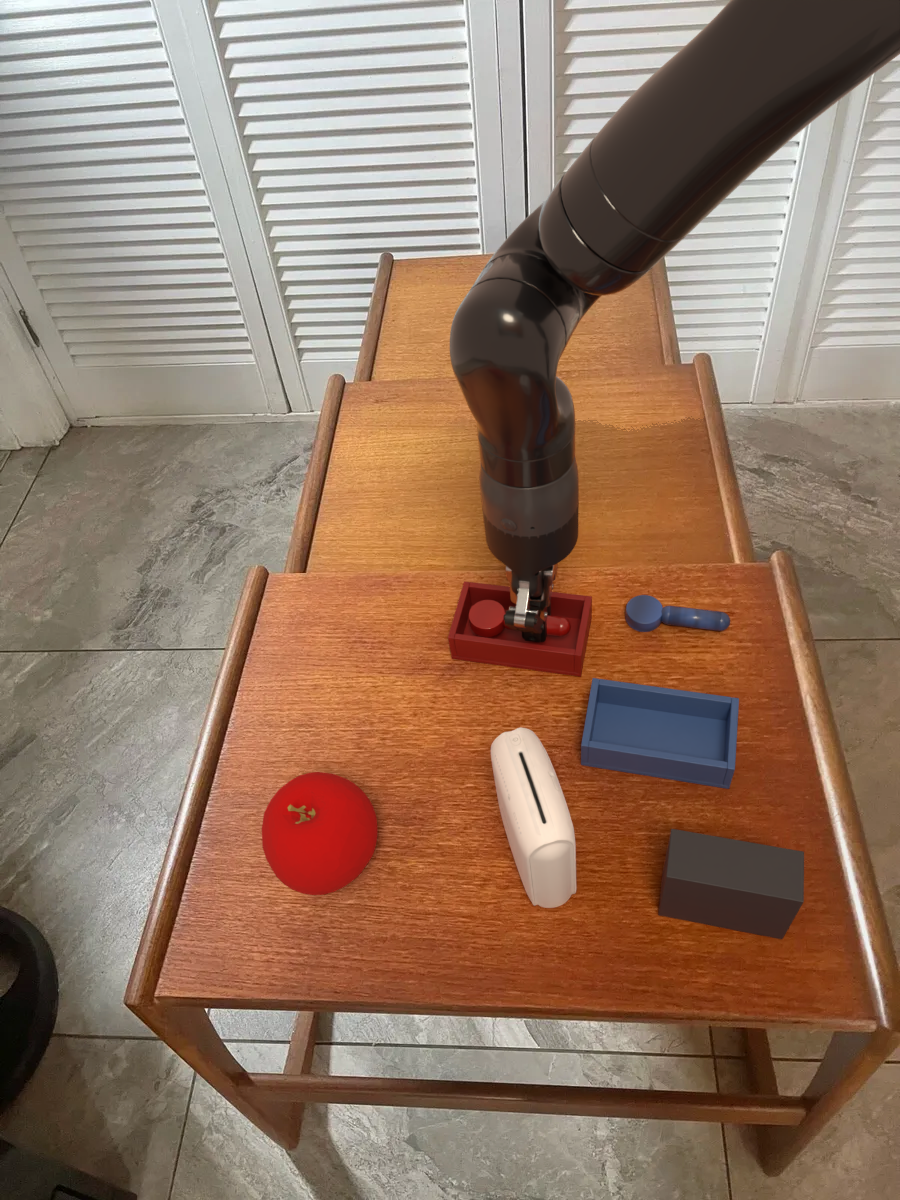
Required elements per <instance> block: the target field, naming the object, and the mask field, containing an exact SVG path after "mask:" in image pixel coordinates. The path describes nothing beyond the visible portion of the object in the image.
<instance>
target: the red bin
mask: <svg viewBox="0 0 900 1200" xmlns="http://www.w3.org/2000/svg"><path fill="white" fill-rule="evenodd" d="M482 600H493V601H496V602H498V603H500V604H501V605H502V606H503V608H504V610H505V613H506V611H507V610H509V607H510V606H511V607H516V604H515V603H513V602H512V601H511V597H510V586H507V585H498V584H491V583H483V582H482V583H481V582H474V581H466V580H465V581H463V584H462V586H461V591H460V594H459V597H458V601H457V604H456V608H455V612H454V615H453V618H452V622H451V626H450V629H449V632H448V636H447V640H448V646H449V650H450V655H451V659H452V660H457V661H463V662H464V661H465V662H470V663H471V662H472V663H477V664H478V663H479V664H485V665H492V666H493V665H494V666H501V667H508V668H513V669H514V668H516V669H523V670H529V671H537V672H542V673H543V672H544V673H551V674H552V673H553V674H559V675H564V676H572V677H579V678H580V677H582V672H583V669H584V668H583V667H584V663H585V657H586V651H587V646H588V642H589V641H588V640H589V635H590V629H591V624H592V617H593V616H592V614H593V613H592V611H593V596H591V595H583V594H576V593H575V594H574V593H568V592H567V593H566V592H557V591H552V597H551V616H559V617H564V618H566V619H568V620H569V622H570V624H571V629H570V632H569V633H568V634H567V635H565V636H553V635H547V636H546V641H544V642H541V643H539V642H532V641H525V639H523V638H522V631H515V630H508V629H506V628H504V629H503V631H502V632H501V633H499V634H498V635H496V636H493V637H481V636H479V635H477V634H475V633H474V632H473V631H472V629H471V627H470V622H469V611H470V609H471V607H472V606H473V605H474V604H476V603H477V602H479V601H482Z"/></svg>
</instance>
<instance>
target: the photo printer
mask: <svg viewBox="0 0 900 1200" xmlns="http://www.w3.org/2000/svg"><path fill="white" fill-rule="evenodd" d="M490 761H491V766H492V772H493V779H494V785H495V791H496V796H497V803H498V807H499V813H500V818H501V820H502V824H503V828H504V830H505V831H504V832H505V835H506V837H507V841H508V845H509V848H510V850H511V854H512V857H513V860H514V863H515V867H516V869H517V871H518V874H519V877H520V880H521V882H522V885H523V888H524V890H525V893H526V895H527V897H528V899H529V900H530V902H531V904H532V905H533V906H534V907H535V906H539V907H541V908H544V909H545V908H546V909H554V908H558V907H561V906H562V905H564V904H566V903H567V902H568V901H569V899H570V898H571V897H572V895H574V894H576V893H577V889H578V888H577V846H576V845H577V844H576V835H575V828H574V823H573V821H572V818H571V813H570V810H569V806H568V804H567V801H566V798H565V794H564V792H563V788H562V786H561V784H560V780H559V778H558V775H557V773H556V770H555V768H554V765H553V763H552V760H551V758H550V756H549V754H548V752H547V750H546V748H545V746H544V745H543V743H542V741H541V739H540V737H538V735H537V734H536V733H535V732H534V731H533V730H532V729H530V728H527V727H521V726H520V727H517V728H515V729H513V730H509V731H504V732H502V733H500V734H499V735H498V736H497V737H496V738H494V740H493V741H492V743H491V745H490Z"/></svg>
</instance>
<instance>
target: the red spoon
mask: <svg viewBox="0 0 900 1200" xmlns="http://www.w3.org/2000/svg"><path fill="white" fill-rule="evenodd" d="M504 614H506V613H505V610H504V608H503V606H502V605H501V604H500V603H498V602H496V601H493V600H482V601H479V602H477V603H476V604H474V605H473V606H472V607H471V609H470V611H469V622H470V627H471V629H472V631H473V632H474V633H475V634H477V635H479V636H481V637H493V636H496V635H498V634H499V633H501V632H502V631H503V629H504V628H506V629H508V630H512V629H511V628H509V627H508V626H506V625H505V620H504ZM546 619H547V635H553V636H565V635H567V634H568V633H569V632H570V629H571V624H570V622H569V620H568V619H566V618H564V617H559V616H551V615H548V616H547V618H546ZM515 631H516V630H515Z"/></svg>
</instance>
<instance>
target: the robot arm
mask: <svg viewBox="0 0 900 1200" xmlns="http://www.w3.org/2000/svg"><path fill="white" fill-rule="evenodd" d="M899 55H900V0H729V2H727V4H726V5H724V7H723V8H722V9H721V10H720V11H719V12H718V14H716V16H714V17H713V18H712V19H711V21H710V22H708V24H707V25H706V26H705V27H704V28H702V29H701V31H700V32H699V33H698V34H697V35H695V36H694V37H693V38H692V39H691V40H690V41H689V42H687V43H686V45H684V46H683V47H682V48H680V50H679V51H678V52H676V54H674V55H673V56H672V57H671V58H670V59H669V60H667V61H666V62H665V63H664V64H663V65H662V66H661V67H660V68H658V70H656V71H655V72H654V73H652V75H651V76H649V77H648V78H647V79H646V81H644V82H643V83H642V84H641V85H640V86H639V87H638V88H637V89H636V91H634V92H633V93H632V94H631V95H630V97H628V98H627V100H625V102H624V103H623V104H622V105H621V106H620V107H619V108H618V109H617V110H616V112H615V113H614V114H613V115H612V116H611V117H610V118H609V119H608V121H607V122H606V123H604V125H603V126H602V127H601V129H600V130H599V131H598V132H597V133H596V135H595V136H594V137H593V138H592V140H590V142H589V143H588V144H587V145H586V147H584V149H583V150H582V152H581V153H580V154H579V155H578V157H577V158H576V159H574V161H573V163H572V164H571V165H570V166H569V167H568V168H567V170H566V171H565V172H564V173H563V174H562V176H561V177H560V179H559V180H558V181H557V183H556V184H555V185H554V187H553V188H552V189H551V191H550V192H549V194H548V196H547V198H546V199H545V200H544V201H542V203H541V204H539V205H538V206H537V207H536V208H535V209H534V210H533V211H532V212H530V214H528V216H526V217H525V218H524V219H523V220H522V222H520V223H519V224H518V225H517V227H516V228H515V229H514V230H513V231H512V232H511V233H510V234H509V235H508V236H507V238H506V239H505V240H504V241H503V242H502V243H501V244H500V246H499V247H498V248H497V249H496V251H495V252H494V253H493V254H492V256H491V257H490V258H489V260H488V261H487V263H486V264H485V265H484V268H482V270H481V272H480V273H479V275H478V276H477V278H476V280H475V281H474V283H473V285H471V288H470V289H469V290H468V292H467V294H466V295H465V296H464V297H463V299H462V301H461V302H460V304H459V306H458V307H457V309H456V311H455V314H454V316H453V319H452V322H451V325H450V331H449V358H450V364H451V369H452V371H453V375H454V377H455V380H456V382H457V384H458V386H459V388H460V391H461V393H462V395H463V397H464V400H465V402H466V405H467V407H468V410H469V412H470V414H471V415H472V416H473V419H474V420H475V422H476V423H475V424H476V436H477V437H476V438H477V445H478V453H479V477H478V479H479V491H480V500H481V508H482V510H481V511H482V517H483V518H482V519H483V525H484V527H483V528H484V535H485V542H486V545H487V548H488V550H489V551H490V553H491V554H492V555H493V556H494V558H496V559H497V560H498V561H499V562H501V563H502V564H503V565H505V578H506V580H507V581H508V582H509V583H508V584H509V587H510V597H511V601H512V602H513V603H515V604H516V607H511V606H510V607H509V610H507V611H506V614H504V620H505V625H506V626H508V627H509V628H511V629H512V630H516V631H522V638H523V639H525V641H532V642H539V643H541V642H544V641H546V636H547V619H546V618H547V616H548V615H551V597H552V592H553V591H554V589H555V584H554V581H556V578H557V573H558V569H559V563H561V562H562V561H564V560H565V559H566V558H567V557H568V556H569V555H570V554H571V553H572V552H573V550H574V549H575V547H576V545H577V542H578V538H579V504H580V503H579V502H580V501H579V500H580V499H579V494H580V493H579V492H580V491H579V489H580V488H579V487H580V485H579V484H580V483H579V482H580V481H579V479H580V478H579V468H578V463H577V457H576V412H575V411H576V410H575V404H574V400H573V395H572V393H571V391H570V389H569V387H568V385H566V383H565V382H564V381H563V380H562V379H561V378H560V377H558V375H557V373H558V372H557V371H558V367H559V361H560V359H561V358H562V356H563V354H564V352H565V349H566V348H567V346H568V344H569V342H570V340H571V338H572V336H573V334H574V332H575V330H576V329H577V327H578V325H579V323H580V322H581V321H582V319H583V318H584V316H585V315H586V314H587V313H588V312H589V310H590V309H591V308H592V307H593V305H595V303H596V302H597V301H598V300H599V299H600V298H601V297H602V296H609V295H615V294H618V293H620V292H622V291H624V290H626V289H628V288H629V287H631V286H632V285H634V284H635V283H636V282H638V281H639V280H640V279H641V278H643V277H644V276H646V274H647V273H649V272H650V271H651V270H652V269H653V268H654V267H655V266H656V265H657V264H658V263H660V261H661V260H663V258H664V257H666V256H667V255H668V254H669V253H670V252H671V251H672V250H674V248H675V247H676V246H677V245H679V243H681V242H682V241H683V240H684V239H685V238H686V237H687V236H688V235H689V234H690V233H691V232H693V230H694V229H695V228H697V227H698V226H699V225H700V223H702V222H703V221H704V220H705V219H706V218H707V217H708V216H709V215H710V214H711V213H712V212H713V211H715V209H716V208H717V207H719V205H720V204H722V202H724V201H725V200H726V199H727V198H728V197H729V196H730V195H732V193H734V191H736V189H737V188H739V187H740V186H741V185H742V184H743V183H744V182H745V181H747V179H749V177H751V176H752V175H753V173H755V172H756V171H757V170H758V169H760V167H761V166H762V165H764V164H765V163H767V161H769V159H770V158H771V157H773V156H774V154H776V153H777V152H778V151H779V150H780V149H782V148H783V147H784V146H786V144H788V142H790V141H791V140H792V139H793V138H794V137H796V136H797V135H798V134H799V133H801V132H802V131H803V130H804V129H805V128H806V127H808V126H809V125H810V124H811V123H812V122H814V121H815V120H816V119H817V118H819V117H820V116H821V115H822V114H824V113H826V111H828V110H829V109H830V108H831V107H833V106H834V105H835V104H836V103H838V102H839V101H840V100H841V99H843V98H844V97H845V96H847V95H848V94H849V93H851V92H852V91H853V90H855V89H856V88H858V86H859V85H861V84H863V82H865V81H866V80H868V79H869V78H870V77H871V76H872V75H874V74H875V73H877V72H878V71H880V70H881V69H882V68H884V67H886V65H887V64H889V63H890V62H891V61H893V60H894V59H896V58H897V57H898V56H899Z"/></svg>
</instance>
